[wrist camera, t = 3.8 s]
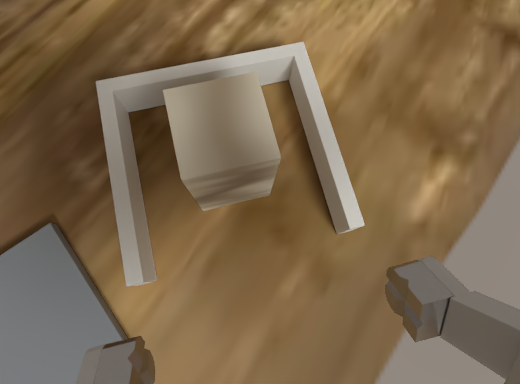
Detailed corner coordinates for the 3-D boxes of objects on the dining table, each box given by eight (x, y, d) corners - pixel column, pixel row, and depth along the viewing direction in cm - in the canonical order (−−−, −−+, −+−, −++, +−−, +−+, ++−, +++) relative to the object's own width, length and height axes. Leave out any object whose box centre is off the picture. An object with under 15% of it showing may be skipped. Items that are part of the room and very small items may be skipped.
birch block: (203, 211, 23) (181, 180, 15) (189, 148, 24) (162, 89, 16) (269, 195, 23) (281, 157, 16) (253, 134, 24) (256, 71, 17)
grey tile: (-85, 317, 20) (-98, 319, 19) (56, 224, 22) (49, 222, 21) (-14, 460, 19) (-25, 468, 18) (133, 347, 20) (128, 350, 20)
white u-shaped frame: (142, 284, 21) (126, 286, 18) (113, 103, 25) (95, 81, 22) (349, 231, 23) (364, 225, 20) (297, 67, 26) (303, 41, 23)
